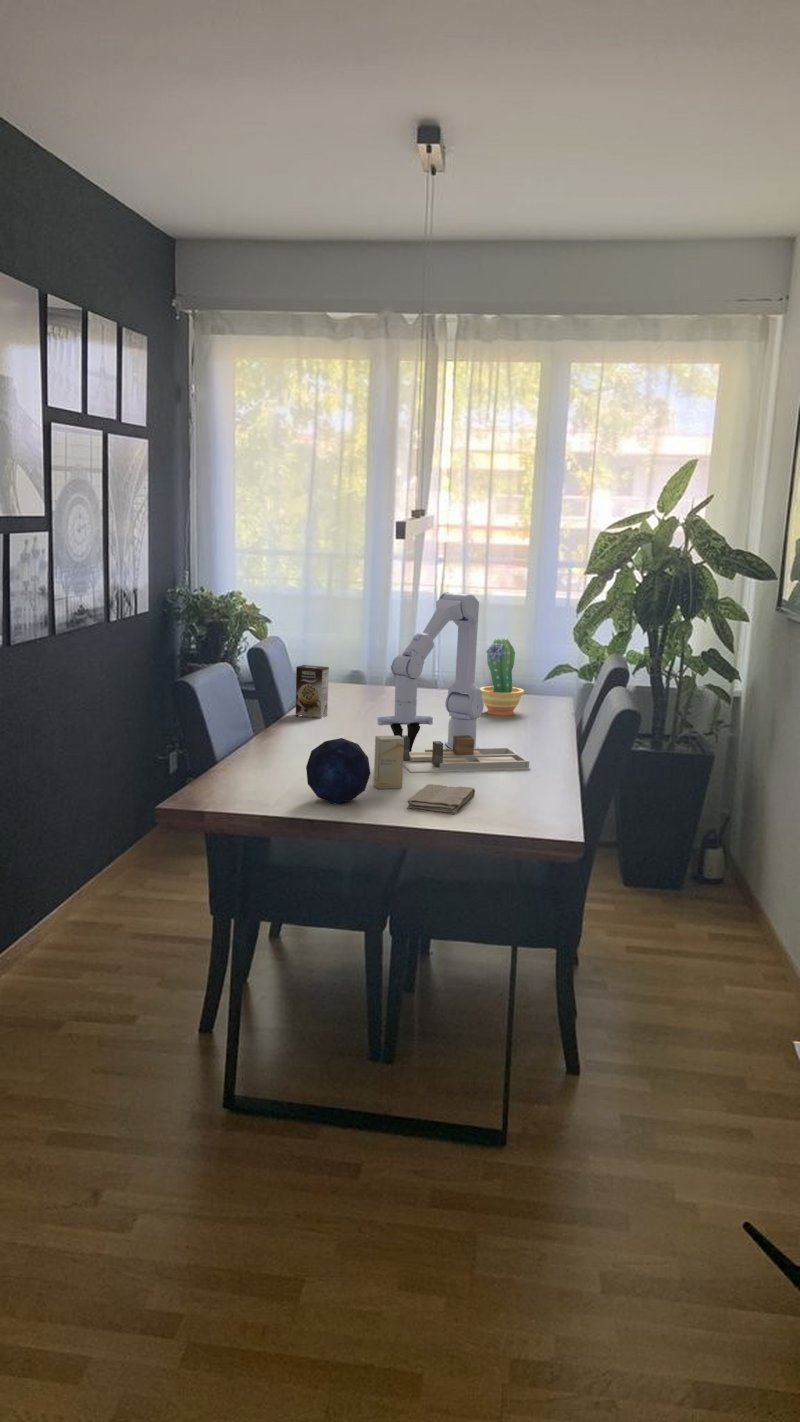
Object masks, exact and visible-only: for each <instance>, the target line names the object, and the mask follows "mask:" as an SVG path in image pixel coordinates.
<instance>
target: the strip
mask: <svg viewBox="0 0 800 1422" xmlns="http://www.w3.org/2000/svg"><path fill="white" fill-rule="evenodd" d="M402 738H404V752H403V760H409V759H410V760H411V761H432V752H425V751H411V752H409V748H410V737H408V734H407V735H406V734H405V735H403V734H402ZM452 755H456V754H455V753H453V751H447V752H443V756H452ZM473 755H483V754H481V753H480V752H479V751H474V754H473Z"/></svg>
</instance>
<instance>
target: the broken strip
mask: <svg viewBox="0 0 800 1422" xmlns="http://www.w3.org/2000/svg"><path fill="white" fill-rule="evenodd" d="M432 749H433V752H432V764H433V765H434V766H440V763H457V762H469V761H468V760H467V759H465V758H443V749H444V742H442V741H440V740H433V741H432ZM475 761H476V762H496V761H517V760H515V759H514V758H513V757H480V758H475Z"/></svg>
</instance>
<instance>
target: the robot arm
mask: <svg viewBox="0 0 800 1422" xmlns="http://www.w3.org/2000/svg"><path fill="white" fill-rule="evenodd" d="M479 610H480V601H479V600H478V599H477V598H476V597H475V595H474V594H472V593H469V594H465V593H453V592H443V593H441V594H440V596H439V598H438V599H437V600H436V602H435V611H434V613H433V614H432V616H431V618H430V619H429V621H428V623H427V624H426V626H425V628H424V630H423V632H420V633H416V634H415V635H414V636H413V637H412V640H411V641H410V642H409V644H408V645H407V647H406V648H405V650H404V651H403V652H402V654H399V655H397V656H396V657H395V658H394V659H393V660H392V662H391V665H390V670H391V673H392V675H393V681H394V683H395V685H394V686H395V688H394V715H391V716H390V715H389V716H377V725H378V726H380V727H381V726H388V725H389V726H390V729H391V730H392V733H393V736H401V737H402V735H403V730H404V729H403V727H402V726H403V725H404V726H405V725H406V727H407V736H408V737H410V748H409V752H413V746H414V743H415V740H416V737H417V736H418V734H419V731H420V729H421V726H420V725H431V726H433V725H434V723H433V722H434V721H433V719H434V717H433V716H431V715H429V716H428V715H417V701H418V700H417V696H418V694H417V693H418V678H419V677H420V675H422V674H423V673H422V672H423V668H424V664H425V660H426V659H427V658H428V656H429V654H430V653H431V652H432V651H433V649H434V647H435V643H434V640H435V638H436V637H437V636H438V635H439V634H440V633H441V631H442V630H443V629H444V628H445V626H446V625H447V624H448V623H449V622H451V621H452V622H453V623H455V625H456V626H457V641H456V642H457V643H456V644H457V646H456V659H455V662H456V663H455V680H454V681H455V682H454V683H453V684H452V685H450V686H449V687H448V691H447V696H446V699H445V709H446V711H447V713H448V716H450V719H449V721H448V730H447V731H448V733H447V734H448V735H447V736H448V737H447V741H445V742H444V745H446V746H447V747H449V748H448V749H453V736H464V735H470V736H471V737H472V738H474V748H480V747H479V746H478V745H476V743H477V726H478V725H477V724H478V723H477V719H479V718H480V716H481V714H482V713H483V711H484V706H485V704H484V702H483V699H482V690H481V689H480V688H481V687H479V686H478V685H477V684H476V682H475V679H476V663H477V662H476V661H477V645H478V644H477V643H478V626H479Z"/></svg>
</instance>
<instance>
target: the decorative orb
mask: <svg viewBox="0 0 800 1422" xmlns="http://www.w3.org/2000/svg"><path fill="white" fill-rule="evenodd" d="M369 761H370V760H369V757H368V755H367V754H366V753H365V751H364V750H363V749H362V747H361V746H360V744H359V743H357V742H353V741H351V740H348V739H345V738H343V737H340V738H335V739H334V738H333V739H330V740H325V741H323V742H322V743H320V744H319V745H318V746H316V747H315V748H313V749H312V750H311V751H310V753H309V758H308V760H307V762H306V766H305V769H306V778H307V779H306V780H307V785H308V787H309V788H310V789H311V790H312V791H313V793H314V794H315V795H316V796H317V798H318V799H322V801H323V800H324V801H326V802H329V803H332V804H334V803H336V804H340V803H346V802H350V801H353V800H355V798H357V797H358V796H359V795H361V794H362V793H364V792H365V791H366V788H367V785H368V782H369V779H370V776H371V766H370V762H369Z"/></svg>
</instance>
